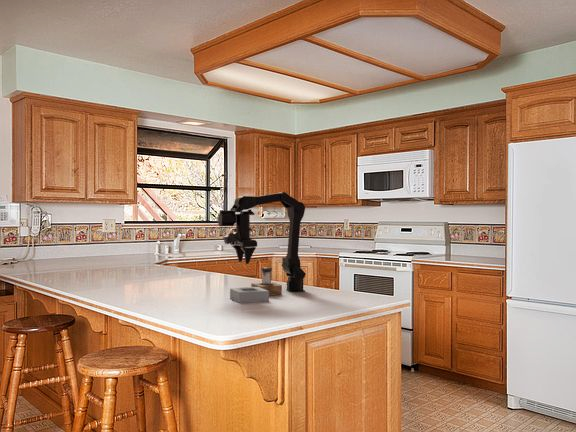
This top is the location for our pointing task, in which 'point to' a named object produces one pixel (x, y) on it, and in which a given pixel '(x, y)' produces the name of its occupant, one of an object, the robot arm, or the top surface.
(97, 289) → the top surface
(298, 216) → the robot arm
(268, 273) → the lock pin
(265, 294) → the socket block
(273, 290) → the pin mount
